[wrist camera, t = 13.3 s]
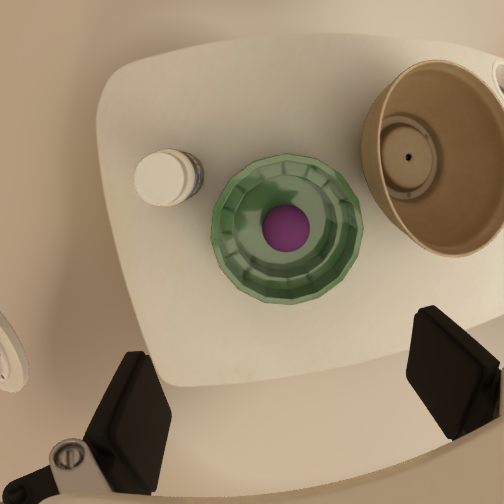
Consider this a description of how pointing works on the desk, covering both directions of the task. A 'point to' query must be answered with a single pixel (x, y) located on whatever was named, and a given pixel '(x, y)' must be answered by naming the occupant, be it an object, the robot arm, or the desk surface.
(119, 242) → the desk surface
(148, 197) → the pill bottle
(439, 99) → the planter bowl
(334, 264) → the bowl
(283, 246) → the ball
